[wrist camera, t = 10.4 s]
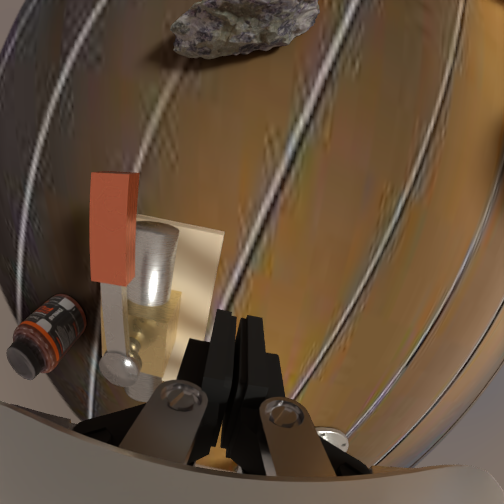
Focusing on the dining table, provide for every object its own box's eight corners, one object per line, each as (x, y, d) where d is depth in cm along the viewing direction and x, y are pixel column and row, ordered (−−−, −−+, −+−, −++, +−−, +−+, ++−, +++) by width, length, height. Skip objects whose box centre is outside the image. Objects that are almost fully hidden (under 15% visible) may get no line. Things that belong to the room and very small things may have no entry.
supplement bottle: (67, 283, 30) (12, 330, 20) (96, 323, 32) (53, 380, 21) (43, 303, 31) (-8, 349, 20) (70, 340, 33) (28, 393, 22)
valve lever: (143, 377, 22) (138, 391, 20) (109, 369, 22) (101, 382, 20) (143, 173, 18) (134, 174, 16) (100, 170, 17) (87, 172, 16)
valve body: (171, 382, 33) (156, 434, 25) (124, 370, 32) (101, 418, 24) (192, 228, 27) (171, 257, 19) (132, 216, 27) (91, 239, 19)
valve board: (197, 380, 34) (195, 387, 33) (106, 357, 33) (102, 363, 32) (224, 231, 29) (223, 235, 28) (111, 208, 28) (105, 211, 27)
